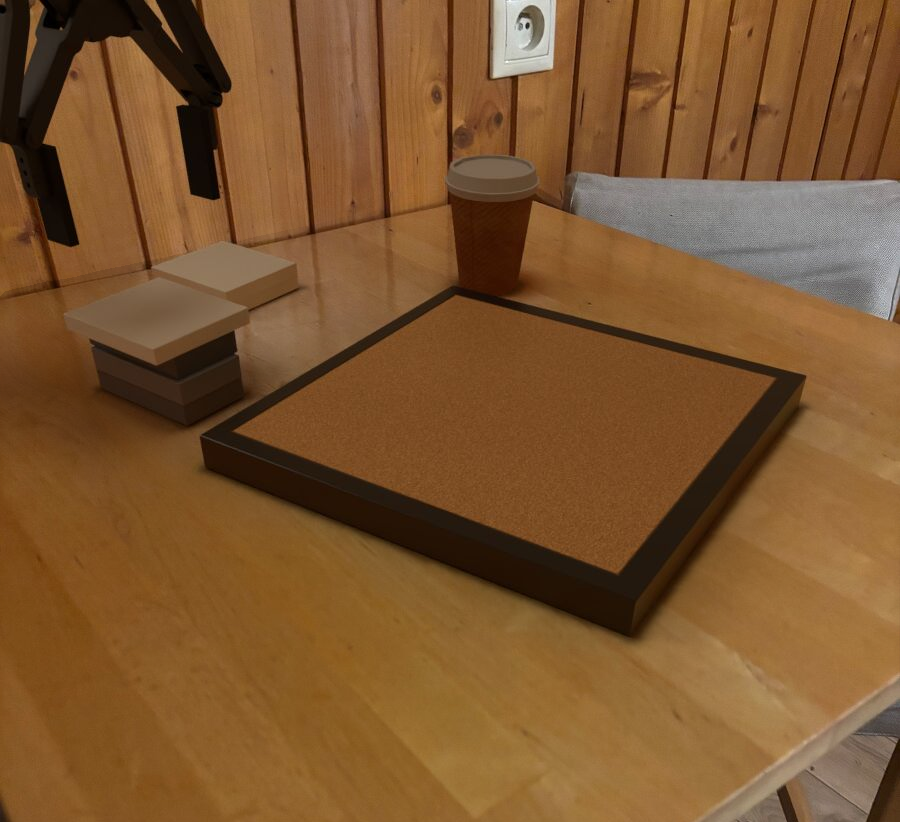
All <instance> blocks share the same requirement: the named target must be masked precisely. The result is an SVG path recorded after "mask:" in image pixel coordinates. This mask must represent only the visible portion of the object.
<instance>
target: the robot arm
mask: <svg viewBox="0 0 900 822" xmlns="http://www.w3.org/2000/svg"><path fill="white" fill-rule="evenodd" d="M38 1H39V3H41V5H42V6H43V9H42V11H41V14H40V17H39V20H38V23H37V25H36V28H35V31H34V36H35V38H36V41H35V45H34V47H33V50H32V53H31V56H30V58H29V62H28V63H26V62H27V55H28V46H29V39H30V30H31V9H32V8H33V7H34V6H35V5H36V0H0V143H2V144H5V145H9V146H10V148H11V149H12V152H13V154H14V158H15V161H16V166H17V169H18V172H19V173H18V174H19V177H20V180H21V184H22V187H23V190H24V192H25V193H26V195H27V197H31V198H33V199H36V202H37V206H38V209H39V213H40V217H41V220H42V224H43V228H44V233H45V236H46V239H47V241H50V242H52V243H56V244H59V245H62V246H65V247H68V248H74V247H77V246H80V240H79V237H78V232H77V228H76V223H75V220H74V216H73V211H72V208H71V204H70V200H69V196H68V191H67V188H66V184H65V179H64V174H63V171H62V167H61V163H60V159H59V155H58V150H57V147H56V146H55V145H51V144H48V143H44V141H45V138H46V136H47V133H48V130H49V128H50V124H51V121H52V119H53V117H54V113H55V110H56V108H57V106H58V102H59V99H60V97H61V93H62V91H63V88H64V85H65V84H66V83H65V82H66V80H67V77H68V74H69V73H70V72H69V71H70V70H71V66H72V63H73V60H74V58H75V56H76V55H77V54H78V53H80V52H81V51H82V49H83V47H84V44H85V42H87V43H91V44H92V43H93V44H94V43H99V42H103V41H105V40H106V39H108V38H110V37H113V38H119V39H122V38H127V37H128V38H131V40H132V41H133V42H134V43H135V44H136V45H137V46H138V48H139V49H140V50H141V51H142V52H143V54H145V56H146V57H147V59H149V60H150V62H151V63H152V64H153V65H154V66H155V67H156V69H157V70H158V71H159V72H160V73H161V74H162V76H163V77H164V78H165V79H166V80H167V81H168V83H169V84H170V85H171V86H172V87H173V88H174V90H175V91H176V92H177V93H178V94H179V95H180V96H181V98H182V99H183V100H184V101H185V102H186V103H187V104H179V105H176V106H175V109H176V116H177V121H178V128H179V135H180V140H181V146H182V152H183V158H184V163H185V170H186V176H187V182H188V186H189V187H188V188H189V195H191V196H195V197H199V198H203V199H206V200H209V201H217V200H219V199H221V193H220V186H219V178H218V173H217V165H216V157H215V151H216V150H218V146H219V145H218V144H219V140H218V134H217V125H216V119H215V113H214V112H215V111H214V109H215V108H216V109H219V108H221V106H222V104H223V101H224V97H223V94H228V93H230V92H231V90H232V87H233V86H232V85H233V84H232V79H231V77H230V75H229V73H228V72H227V69H226V67H225V65H224V63H223V61H222V59H221V57H220V55H219V52H218V51H217V48H216V47H215V45H214V43H213V40H212V38H211V37H210V35H209V33H208V30H207V27H205V26H206V25H205V24H204V22H203V20H202V19H201V15H200V14H199V12H198V10H197V8H196V6H195V4H194V2H193V0H155V3H156V5H157V6H158V8H159V11H160V12H161V14H162V16H163V18H164V20H165V23H166V24H167V26H168V28H169V29H170V31H171V33H172V36H173V37H174V40H175V41H176V43H177V44H176V43H175V41H174V40H173V39H172V37H171V36H170V35H169V34H168V33H167V32H166V30H165V29H164V28H163V22H162V20H161V19H160V18H159V16H158V15H157V14H156V13H155V11H154V10H153V9H152V8H151V7H150V5H149V4H148V3H147V2H146V0H38ZM26 64H27V66H26Z"/></svg>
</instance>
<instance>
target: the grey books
mask: <svg viewBox="0 0 900 822" xmlns="http://www.w3.org/2000/svg"><path fill="white" fill-rule="evenodd" d="M88 339H89V343H90V344H91V345H92V346H91V347H90V349H91V353H92V357H93V358H92V359H93V362H94V365H95V369H96V373H97V377H98V380H99V385H100V388H101V389H102V390H103V391H106V392H108V393H111V394H113V395H116V396H118V397H120V398H122V399H124V400H127V401H129V402H131V403H134V404H136V405H138V406H140V407H143V408H145V409H148V410H150V411H152V412H154V413H157V414H159V415H161V416H163V417H166V418H168V419H170V420H173V421H175V422H177V423H179V424H182V425H184V426H186V427H188V426H190V425H192V424H194V423H196V422H198V421H200V420H201V419H203V418H205V417H207V416H209V415H211V414H213V413H215V412H217V411H219V410H221V409H223V408H224V407H225V408H226V407H227V406H229V405H230V404H232V403H234V402H236V401H238V400H241V399H242V398H244V397H245V393H244V384H243V379H242V377H243V374H242V369H241V360H240V355H239V354H236V353H237V352H238V345H237V337H236V330H234V331H232V332H229V333H227V334H225V335H223V336H221V337H219V338H216V339H214V340H212V341H210V342H208V343H205V344H203V345H201V346H199V347H197V348H194V349H192V350H190V351H188V352H186V353H183V354H181V355H179V356H177V357H175V358H172V359H170V360H168V361H166V362H164V363H161V364H159V365H154V364H151V363H149V362H146V361H144V360H141V359H139V358H136V357H134V356H131V355H129V354H127V353H124V352H122V351H119V350H117V349H114V348H112V347H109V346H107V345H104V344H102V343H99V342H97V341H94V340H92V339H90V338H88Z"/></svg>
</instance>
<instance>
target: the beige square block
mask: <svg viewBox="0 0 900 822" xmlns="http://www.w3.org/2000/svg"><path fill="white" fill-rule="evenodd" d="M150 270H151V274H152V279H155V278H158V277H160V278H163V279H166V280H169V281H172V282H175V283H178V284H181V285H184V286H187V287H190V288H192V289H195V290H198V291H201V292H204V293H207V294H210V295H213V296H216V297H219V298H222V299H225V300H228V301H230V302H233V303H236V304H239V305H242V306H245V307H248V311H250V310H252V309H255V308H256V307H259V306H261V305H263V304H266V303H269V302H270V301H273V300H274V299H277V298H279V297H281V296H283V295H286V294H288V293H291V292H293V291H295V290H297V289H299V288H300V286H299V277H298V276H299V275H298V266H297V262H295V261H292V260H288V259H285V258H283V257H282V258H281V257H279V256H275V255H273V254H269V253H265V252H262V251H259V250H256V249H252V248H249V247H245V246H242V245H240V244H236V243H233V242H229V241H225V240H220V241H217V242H215V243H211V244H209V245H207V246H203V247H201V248H199V249H196V250H192V251H190V252H188V253H184V254H182V255H179V256H177V257H174V258H171V259H168V260H166V261H164V262H163V261H162V262H161V263H158V264H155V265H153V266H151V267H150Z"/></svg>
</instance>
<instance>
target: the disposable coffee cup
mask: <svg viewBox="0 0 900 822" xmlns="http://www.w3.org/2000/svg"><path fill="white" fill-rule="evenodd" d="M536 167H537V166H536V165H535V163H534V162H532V161H530V160H528V159H525V158H522V157H518V156H513V155H505V154H489V153H488V154H487V153H486V154H473V155H467V156H464V157H463V156H462V157H459V158H456V159H454V160H453V161H451V162H450V164H449V167H448V171H447V174H446V175H445V177H444V183H445V185H446V188H447V191H448V192H449V199H450V200H449V201H450V208H451V210H450V211H451V219H452V226H453V227H452V230H453V238H454V244H455V245H454V248H455V256H456V265H457V274H458V275H457V276H458V285H459V286H458V287H462V288H465V289H469V290H473V291H477V292H481V293H485V294H489V295H493V296H500V295H501V296H502V295H505V294H509V293H512V292H514V291H515V290H516V289H517V288H518V286H519V279H520V273H521V268H522V261H523V257H524V251H525V246H526V240H527V234H528V229H529V224H530V218H531V213H532V207H533V202H534V196H535V194H536V192H537V191H538V190H537V189H538V187H539V185H540V181H541V179H540V178H539V177H538V175H537V168H536Z"/></svg>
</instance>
